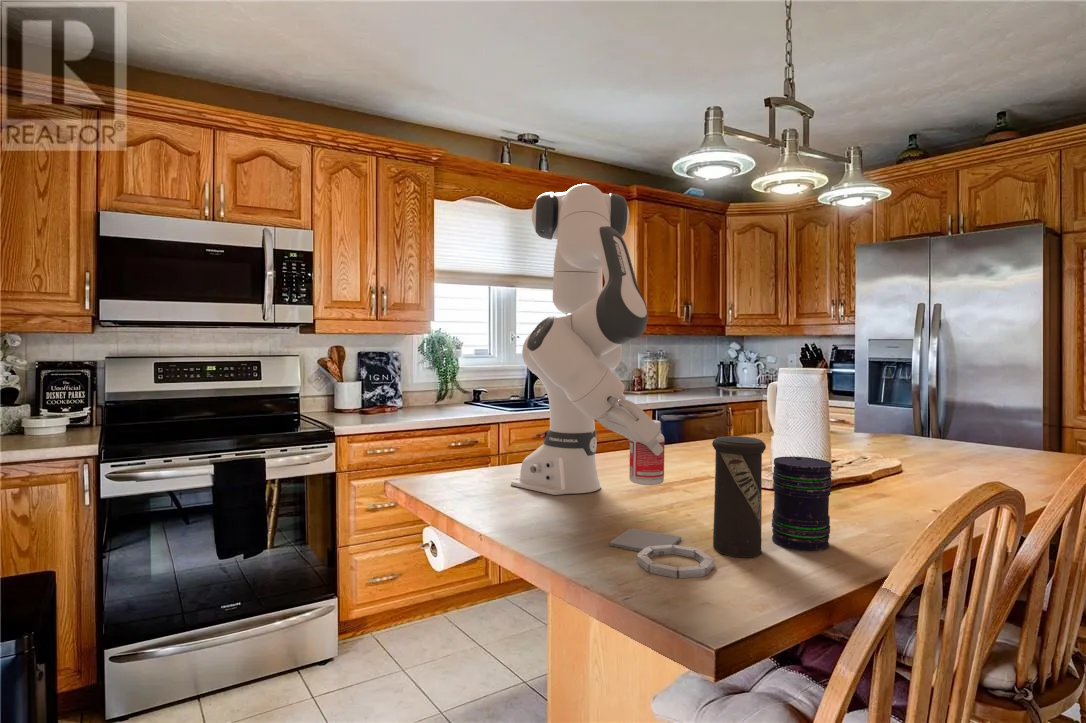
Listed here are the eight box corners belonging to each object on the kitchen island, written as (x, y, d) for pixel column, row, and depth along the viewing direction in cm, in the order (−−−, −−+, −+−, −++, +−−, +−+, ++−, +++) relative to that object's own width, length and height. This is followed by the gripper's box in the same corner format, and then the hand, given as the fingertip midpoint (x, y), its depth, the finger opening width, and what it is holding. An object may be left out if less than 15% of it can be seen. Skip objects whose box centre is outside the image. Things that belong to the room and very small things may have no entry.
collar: (628, 568, 100) (628, 560, 100) (653, 547, 110) (654, 541, 110) (699, 583, 94) (699, 575, 94) (719, 560, 104) (719, 552, 104)
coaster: (608, 545, 111) (608, 542, 111) (630, 531, 120) (630, 527, 120) (662, 556, 106) (662, 552, 106) (681, 540, 115) (681, 536, 115)
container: (734, 561, 104) (736, 442, 103) (700, 545, 112) (702, 434, 111) (774, 554, 107) (777, 439, 106) (738, 539, 115) (740, 431, 115)
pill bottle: (671, 483, 112) (672, 422, 111) (645, 487, 108) (646, 424, 108) (647, 476, 117) (648, 417, 116) (622, 480, 113) (623, 420, 113)
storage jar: (836, 554, 108) (838, 468, 107) (777, 550, 110) (779, 465, 109) (821, 536, 118) (823, 457, 117) (766, 532, 119) (768, 455, 119)
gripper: (635, 387, 100) (689, 445, 103) (593, 378, 120) (639, 427, 123) (608, 415, 99) (663, 473, 102) (570, 401, 119) (617, 450, 122)
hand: (650, 448), depth 112 cm, fingers closed on pill bottle, 6 cm apart
